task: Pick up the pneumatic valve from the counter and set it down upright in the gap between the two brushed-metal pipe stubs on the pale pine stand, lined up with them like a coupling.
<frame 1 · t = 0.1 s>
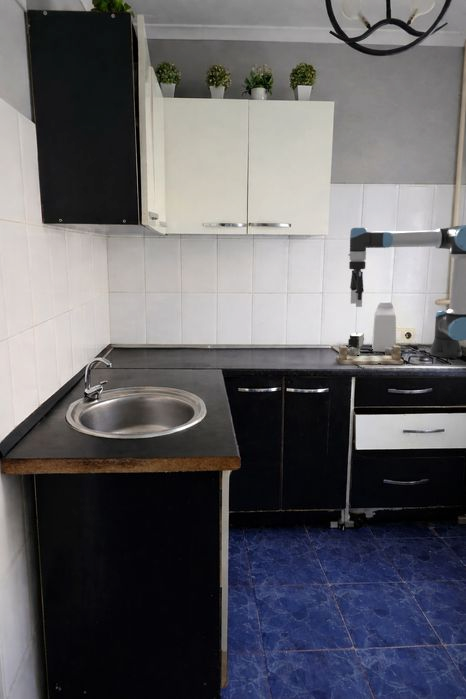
hand: (356, 305, 249), 28 cm above the counter, tool pointing down, fingers open, 13 cm apart
pipe stand: (369, 361, 253), on the counter
pneumatic valve: (355, 355, 268), on the counter
milk: (383, 349, 281), on the counter
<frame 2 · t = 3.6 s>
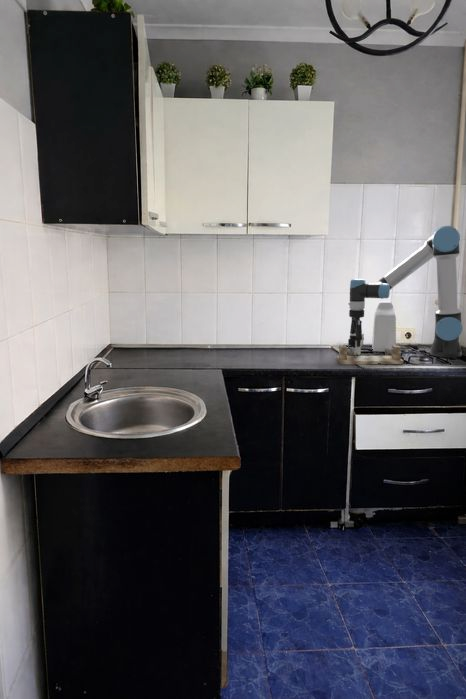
hand: (355, 350, 268), 2 cm above the counter, tool pointing down, fingers closed on pneumatic valve, 12 cm apart
pneumatic valve: (355, 355, 268), on the counter, touching gripper
everything else where it was.
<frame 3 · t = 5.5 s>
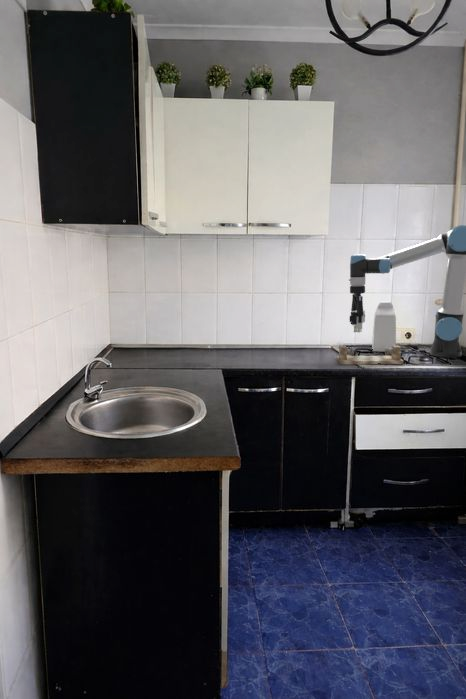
hand: (356, 327, 265), 15 cm above the counter, tool pointing down, fingers closed on pneumatic valve, 12 cm apart
pneumatic valve: (356, 332, 266), point 12 cm above the counter, touching gripper
everything else where it was.
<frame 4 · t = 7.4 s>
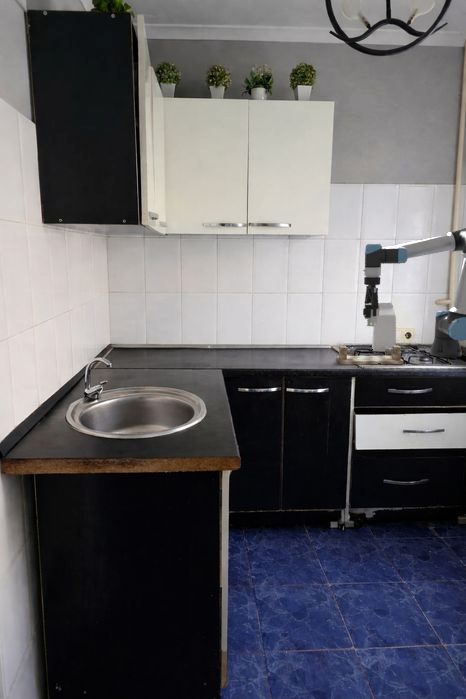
hand: (370, 321, 249), 20 cm above the counter, tool pointing down, fingers closed on pneumatic valve, 12 cm apart
pneumatic valve: (370, 326, 250), point 17 cm above the counter, touching gripper
everything else where it was.
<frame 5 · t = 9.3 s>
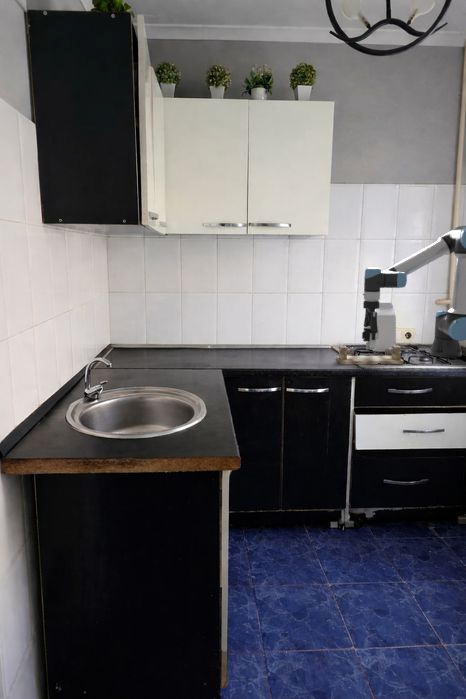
hand: (369, 344, 252), 9 cm above the counter, tool pointing down, fingers closed on pneumatic valve, 12 cm apart
pneumatic valve: (369, 349, 252), point 6 cm above the counter, touching gripper
everything else where it was.
when the fingers open (5 cm above the counter, at t = 11.1 s): pneumatic valve drops 1 cm, resting on pipe stand.
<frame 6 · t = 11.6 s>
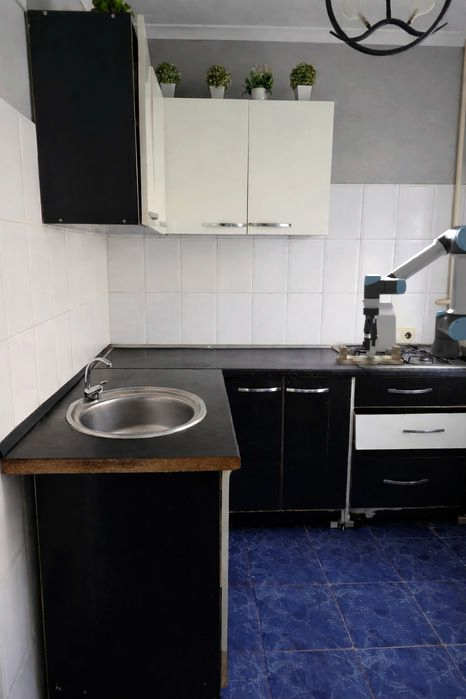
hand: (369, 350, 252), 6 cm above the counter, tool pointing down, fingers open, 13 cm apart
pneumatic valve: (369, 358, 253), point 1 cm above the counter, touching pipe stand
everything else where it was.
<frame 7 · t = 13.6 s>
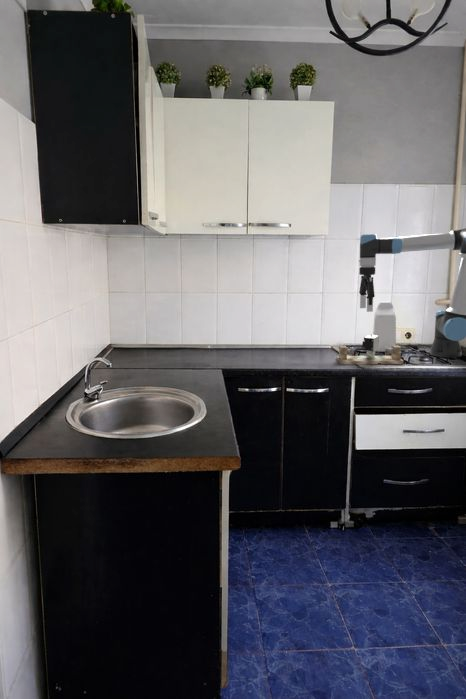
hand: (366, 309, 254), 25 cm above the counter, tool pointing down, fingers open, 13 cm apart
nothing on the counter moved.
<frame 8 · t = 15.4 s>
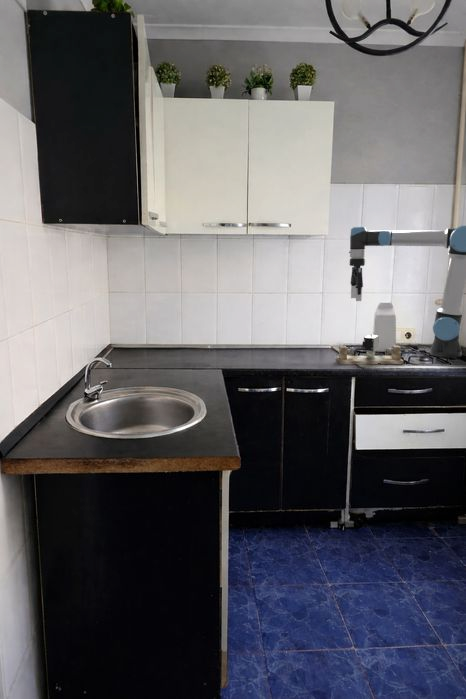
hand: (356, 299, 265), 29 cm above the counter, tool pointing down, fingers open, 13 cm apart
nothing on the counter moved.
at the end: pneumatic valve 0.2 cm off-centre on the pipe stand, point 1.4 cm above the pipe stand's base; pneumatic valve tilted 0°; the gripper is holding nothing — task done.
